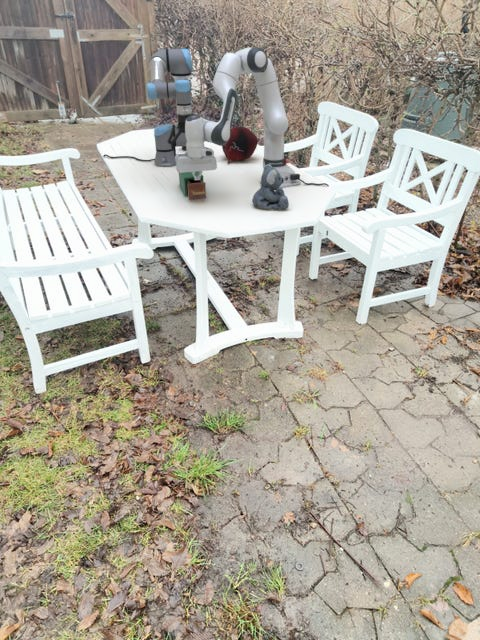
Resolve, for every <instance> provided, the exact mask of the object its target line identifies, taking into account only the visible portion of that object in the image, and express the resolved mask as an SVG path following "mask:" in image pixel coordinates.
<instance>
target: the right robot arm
mask: <svg viewBox="0 0 480 640" xmlns="http://www.w3.org/2000/svg"><path fill="white" fill-rule="evenodd" d="M250 74H251V75H253V77H254V81H255V86H256V91H257V97H258V100H259V103H260V105H261V109H262V112H263V114H262V131H263V158H262V168H263V170H264V166H265V165H267V164H268V165H271V166H272V167H273V168H276V169H277V171H278V172H279V173H280V175H281V177H282V178H283V179H284V182H283V183H282V184H281V185H280V187H279V188H287V187H291V186H292V187H293V186H298V185H300V184H301V182H302V183H303V185H307V186H309V185H310V186H311V185H314V186H327V187H330V185H329V184H327V183H325V182H323V183H315V182H309V183H308V182H305V181H304V180H302V179H301V173H300V174H299V173H296V171H295V170H294V169H293V168H292V167H291V166H289V165H288V164H290V159H288V158H285V140H284V134H285V133H286V132H287V130H288V128H289V120H288V117H287V113H286V112H287V111H286V109H285V105H284V102H283V99H282V96H281V91H280V87H279V83H278V82H279V81H278V77H277V73H276V70H275V66H274V64H273V62H272V60H271V59H270V58H268V55H267V52H266V51H265V50H264V49H263V48H262V47H258V46H253V47H250V46H249V47H245V48H241V49H238V50H235V51H234V52H227V53H225V54H224V55H223V57H222V58H221V60H220V62H219V64H218V66H217V68H216V72H215V74H214V77H213V80H212V88H213V91H214V93H215V94H216V95H217V96H218V97H219V98H220V99H222V102H223V106H222V110H221V115H220V119H219V120H218V121H213V120H210V119H209V120H208V119H206V118H204V117H202V115H200V114H192V115H191V116H189V117H188V118H187V119H186V122H185V136H186V139H187V143H186V150H185V151H186V152H185V151H184V152H177V153H176V155H175V161H176V165H175V170H176V172H177V173H178V174H179V173H185V172H192V174H193V176H194V180H200V177H201V175H203V172H206V171H208V172H209V171H216V170H217V169H218V165H217V158H216V156H215V150H213V149H212V148H211V147H207V146H205V142H207V143H210V144H214V145H217V146H219V147H222V146H223V145H225V144H226V143H227V142H228V141H229V139H230V135H231V129H232V124H233V121H234V115H235V110H236V106H237V101H238V93H237V92H236V89H237V84H238V82H239V78H240V75H250ZM263 170H262V171H263ZM197 171H199V175H198V176H195V175H194V174H195V172H197ZM328 235H329V230H326V236H328Z"/></svg>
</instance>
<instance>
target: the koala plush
mask: <svg viewBox="0 0 480 640" xmlns="http://www.w3.org/2000/svg"><path fill="white" fill-rule="evenodd" d="M283 182H284V179H283V178H282V177H281V175H280V173H279V172H278V171H277V169H276V168H273V167H272V166H271V165H268V164H267V165H265V166H264V170H262V174H261V178H260V188H259V189H258V190H257V191H256V192H255V193H254V194H253V197H252V199H251V202H252V204H253V206H255V207H257V208H260V209H262V210H276V211H277V210H278V211H283V210H287V209H288V208H289V207H290V206H289V205H290V203H289V199H288V196H287V195H285V191H284V189H283V188H284V187H280V185H281V184H282V183H283ZM279 187H280V188H279Z"/></svg>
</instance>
